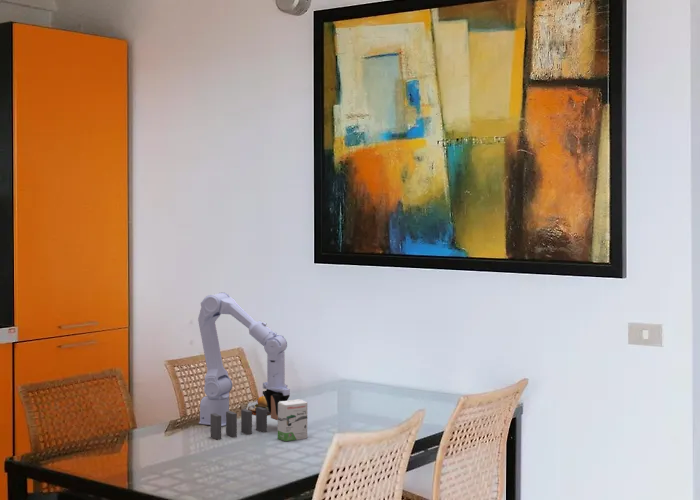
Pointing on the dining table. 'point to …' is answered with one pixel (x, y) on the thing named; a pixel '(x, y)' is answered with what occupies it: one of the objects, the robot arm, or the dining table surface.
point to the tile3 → (246, 421)
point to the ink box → (292, 420)
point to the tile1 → (273, 409)
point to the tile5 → (215, 426)
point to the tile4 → (231, 424)
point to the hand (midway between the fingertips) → (276, 413)
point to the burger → (260, 405)
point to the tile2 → (261, 419)
